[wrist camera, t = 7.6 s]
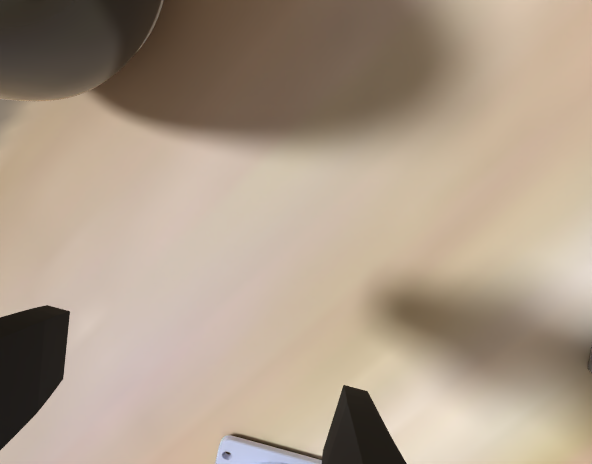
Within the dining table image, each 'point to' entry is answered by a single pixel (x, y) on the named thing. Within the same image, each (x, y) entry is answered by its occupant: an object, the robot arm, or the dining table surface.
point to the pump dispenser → (68, 44)
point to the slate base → (590, 362)
